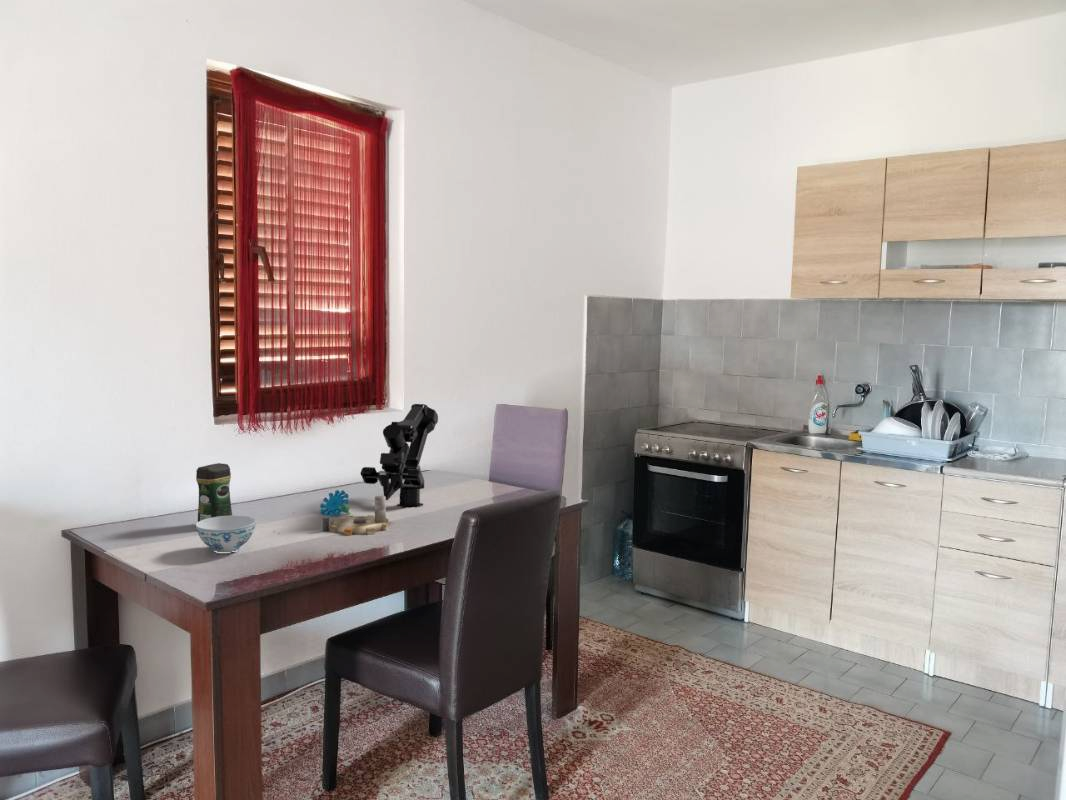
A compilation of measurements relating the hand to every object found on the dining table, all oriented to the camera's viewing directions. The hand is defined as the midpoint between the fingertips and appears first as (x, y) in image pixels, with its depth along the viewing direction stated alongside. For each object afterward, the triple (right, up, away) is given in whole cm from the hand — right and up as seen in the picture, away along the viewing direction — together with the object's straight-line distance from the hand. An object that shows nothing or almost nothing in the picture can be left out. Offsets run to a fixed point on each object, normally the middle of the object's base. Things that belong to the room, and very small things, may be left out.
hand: (385, 499), depth 247 cm
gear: (-18, -7, +11) cm, 22 cm away
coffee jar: (-50, -8, -4) cm, 51 cm away
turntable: (-7, -8, -6) cm, 12 cm away
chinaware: (-37, -10, -29) cm, 48 cm away
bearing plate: (-7, -8, -6) cm, 12 cm away
